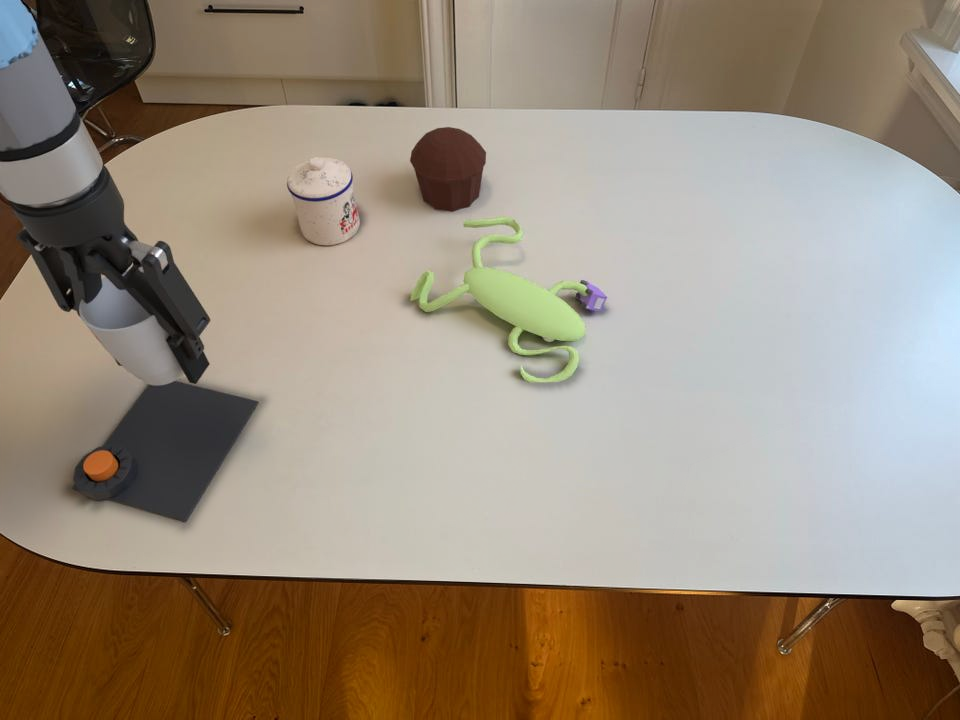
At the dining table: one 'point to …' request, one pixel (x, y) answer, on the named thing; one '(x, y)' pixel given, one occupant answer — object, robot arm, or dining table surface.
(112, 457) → the button
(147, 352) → the cup
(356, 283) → the dining table surface
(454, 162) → the muffin
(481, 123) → the dining table surface
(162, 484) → the dark grey flat slab
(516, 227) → the figurine
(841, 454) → the dining table surface
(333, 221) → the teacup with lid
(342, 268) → the dining table surface
